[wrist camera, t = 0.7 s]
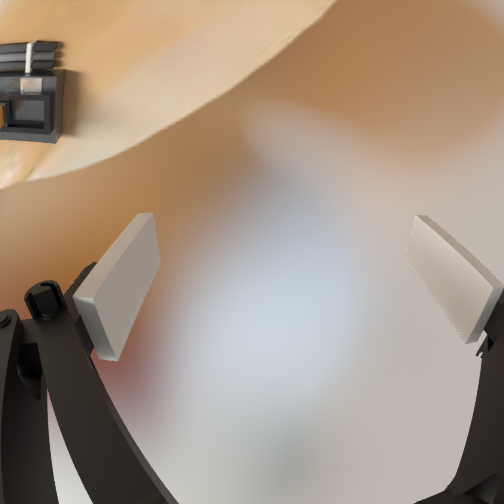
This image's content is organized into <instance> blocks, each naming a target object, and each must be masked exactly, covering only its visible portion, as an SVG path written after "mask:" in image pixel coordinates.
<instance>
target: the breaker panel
mask: <svg viewBox="0 0 504 504" xmlns="http://www.w3.org/2000/svg"><path fill="white" fill-rule="evenodd" d="M25 70H26V69H15V70H0V100H9V106H10V120H11V123H10V124H9V125H8V127H1V128H0V140H17V141H31V142H43V143H54V144H56V142H57V141H58V139H59V138H60V136H61V134H62V109H63V89H64V77H65V69H33V70H32V71H31V72H30V73H25Z"/></svg>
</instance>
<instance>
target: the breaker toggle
mask: <svg viewBox="0 0 504 504" xmlns="http://www.w3.org/2000/svg"><path fill="white" fill-rule="evenodd" d="M10 123H11V120H10V106H9V100H0V128H1V127H8V125H9V124H10Z"/></svg>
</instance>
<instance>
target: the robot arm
mask: <svg viewBox="0 0 504 504" xmlns="http://www.w3.org/2000/svg"><path fill="white" fill-rule="evenodd" d="M405 262H406V263H407V265H408V266H409V267H410V268H411V270H412V271H413V272H414V273H415V275H416V276H417V277H418V279H419V280H420V281H421V282H422V284H423V285H424V286H425V288H426V289H427V290H428V292H429V293H430V294H431V295H432V297H433V298H434V300H435V301H436V302H437V304H438V305H439V307H440V308H441V309H442V311H443V312H444V314H445V315H446V316H447V318H448V319H449V321H450V322H451V324H452V325H453V326H454V328H455V329H456V331H457V332H458V334H459V335H460V337H461V338H462V340H463V341H464V343H465V344H467V343H471V342H476V341H478V339H479V337H480V335H481V333H482V331H483V330H484V331H485V332H486V333H487V336H486V338H485V340H484V341H483V343H482V345H481V346H480V348H479V350H478V351H477V354H476V356H478V355H479V353H481V352H483V353H482V356H481V358H482V363H481V371H480V378H479V385H478V391H477V397H476V402H475V407H474V412H473V417H472V422H471V425H470V430H469V433H468V437H467V441H466V445H465V448H464V451H463V455H462V458H461V461H460V464H459V467H458V470H457V473H456V475H455V477H454V479H453V480H452V482H451V483H450V484H449V485H448V486H447V488H446V489H445V490H444V491H443V492H441V493H438V494H436V495H433V496H431V497H428V498H426V499H423V500H421V501H418V502H416V503H414V504H504V285H503V284H502V283H501V282H500V281H499V280H498V279H497V278H496V277H495V276H494V275H493V274H492V273H491V272H490V271H489V270H488V269H487V268H486V267H485V266H484V265H483V264H482V263H481V262H480V261H478V259H477V258H475V257H474V256H473V255H472V254H471V253H470V252H469V251H468V250H467V249H466V248H465V247H463V246H462V245H461V244H460V243H458V241H457V240H455V239H454V238H453V237H452V236H451V235H450V234H448V233H447V232H446V231H445V230H444V229H443V228H441V227H440V226H439V225H438V224H437V223H435V222H434V221H433V220H432V219H430V218H429V217H428V216H424V215H423V216H422V215H415V220H414V225H413V229H412V234H411V238H410V242H409V246H408V250H407V254H406V258H405ZM160 264H161V261H160V255H159V249H158V243H157V236H156V230H155V223H154V216H153V213H139V214H138V215H137V216H136V217H135V218H134V219H133V220H132V222H131V223H130V224H129V225H128V226H127V227H126V229H125V230H124V231H123V232H122V233H121V234H120V236H119V237H118V238H117V239H116V240H115V242H114V243H113V244H112V245H111V247H110V248H109V249H108V250H107V251H106V253H105V254H104V255H103V257H102V258H101V259H100V260H99V262H93V263H92V264H90V265H89V266H87V267H86V268H85V269H84V270H83V271H82V272H81V273H80V275H79V276H78V278H76V280H75V281H74V284H72V285H71V286H70V288H69V289H68V290H67V292H66V293H65V294H64V296H63V294H62V292H61V289H60V286H59V284H58V283H57V282H55V281H52V280H49V281H43V282H40V283H38V284H36V285H34V286H33V287H31V288H30V289H29V290H28V291H27V293H26V294H25V297H24V300H25V303H26V305H27V307H28V309H29V311H30V313H31V315H32V317H33V319H26V320H21V319H20V318H19V316H18V314H17V312H16V311H15V310H13V309H7V310H4V311H1V312H0V504H59V502H58V497H57V493H56V487H55V481H54V476H53V469H52V462H51V452H50V443H49V431H48V412H47V388H48V392H49V396H50V399H51V402H52V406H53V409H54V412H55V416H56V419H57V421H58V425H59V428H60V430H61V433H62V436H63V438H64V441H65V444H66V446H67V449H68V452H69V454H70V456H71V459H72V461H73V463H74V466H75V468H76V470H77V472H78V475H79V476H80V479H81V481H82V483H83V485H84V487H85V489H86V491H87V493H88V495H89V497H90V499H91V501H92V502H93V504H179V503H178V502H177V501H176V499H175V498H174V497H173V496H172V494H171V493H170V492H169V491H168V489H167V488H166V487H165V485H164V484H163V483H162V481H161V480H160V478H159V477H158V476H157V474H156V473H155V471H154V470H153V469H152V467H151V466H150V464H149V463H148V461H147V460H146V458H145V457H144V455H143V454H142V452H141V451H140V449H139V447H138V446H137V444H136V443H135V441H134V439H133V438H132V436H131V434H130V433H129V431H128V429H127V428H126V426H125V424H124V423H123V421H122V419H121V417H120V415H119V414H118V412H117V410H116V408H115V406H114V404H113V402H112V400H111V399H110V397H109V395H108V393H107V391H106V389H105V387H104V384H103V382H102V380H101V378H100V376H99V374H98V372H97V370H96V367H95V365H94V363H93V361H92V359H91V357H90V354H91V352H92V350H93V348H94V349H95V351H96V353H97V355H98V357H99V358H100V359H105V360H112V361H118V360H119V357H120V355H121V352H122V350H123V347H124V345H125V342H126V340H127V338H128V335H129V333H130V330H131V328H132V325H133V323H134V321H135V319H136V316H137V314H138V312H139V309H140V307H141V305H142V303H143V300H144V298H145V296H146V294H147V291H148V289H149V287H150V285H151V283H152V281H153V279H154V276H155V274H156V272H157V270H158V268H159V266H160Z"/></svg>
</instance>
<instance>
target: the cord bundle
mask: <svg viewBox="0 0 504 504" xmlns="http://www.w3.org/2000/svg"><path fill="white" fill-rule="evenodd" d="M56 45H57V43H56V42H37V40H33V41H31V42H30V43H19V44H8V45H0V70H15V69H26V70H25V73H30V72H31V71H32V70H33V69H53V67H54V63H55V62H54V60H53V59H54V58H55V51H54V50H55V49H56ZM13 52H14V53H13ZM1 53H2V54H1Z"/></svg>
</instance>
